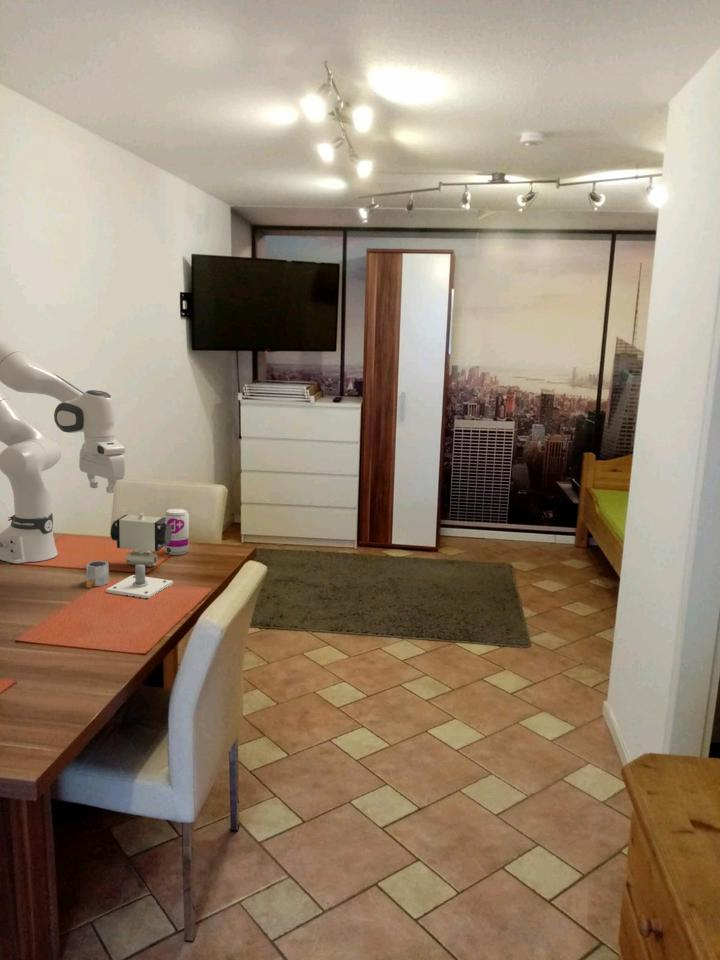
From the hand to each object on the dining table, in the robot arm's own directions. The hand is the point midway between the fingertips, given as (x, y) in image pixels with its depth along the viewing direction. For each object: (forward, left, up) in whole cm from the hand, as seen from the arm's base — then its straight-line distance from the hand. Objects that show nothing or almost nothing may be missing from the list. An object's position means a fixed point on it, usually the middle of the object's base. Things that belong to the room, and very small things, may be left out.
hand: (102, 490), depth 221 cm
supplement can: (+7, +33, -28) cm, 44 cm away
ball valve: (+4, +16, -28) cm, 32 cm away
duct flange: (+15, -3, -28) cm, 32 cm away
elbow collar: (+1, -4, -28) cm, 28 cm away
